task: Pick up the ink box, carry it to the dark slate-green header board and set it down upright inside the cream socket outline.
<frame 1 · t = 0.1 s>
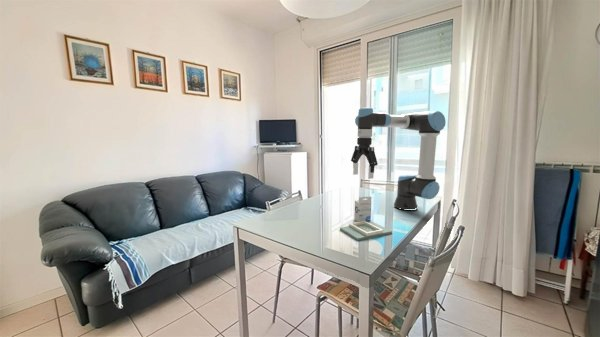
hand: (362, 176, 135), 28 cm above the table, fingers open, 13 cm apart
header board: (365, 231, 130), on the table
ink box: (362, 220, 147), on the table
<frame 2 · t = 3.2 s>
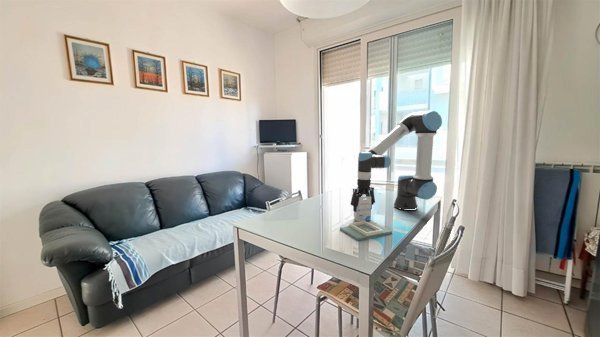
hand: (362, 215, 147), 2 cm above the table, fingers closed on ink box, 9 cm apart
ink box: (362, 220, 147), on the table, touching gripper
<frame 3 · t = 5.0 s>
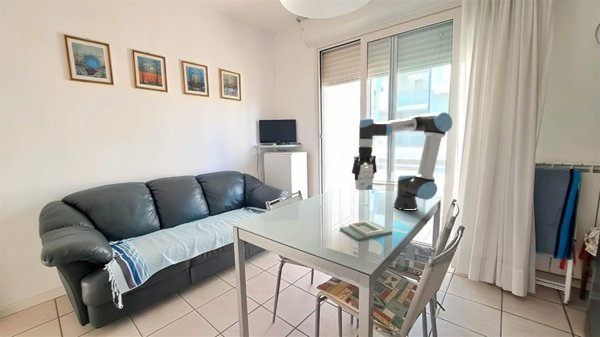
hand: (363, 184, 144), 21 cm above the table, fingers closed on ink box, 9 cm apart
ink box: (363, 189, 145), point 19 cm above the table, touching gripper
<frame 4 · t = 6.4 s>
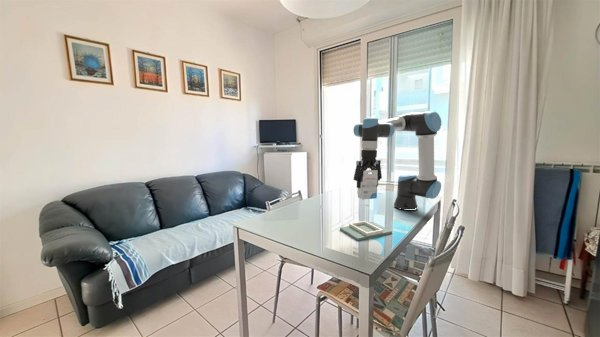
hand: (367, 193, 127), 21 cm above the table, fingers closed on ink box, 9 cm apart
ink box: (367, 198, 127), point 18 cm above the table, touching gripper
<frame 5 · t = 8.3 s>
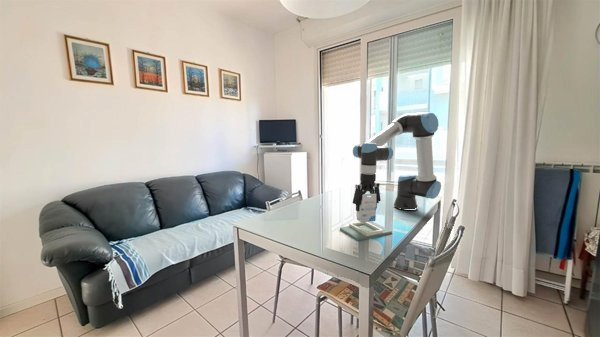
hand: (366, 215, 128), 9 cm above the table, fingers closed on ink box, 9 cm apart
ink box: (365, 220, 129), point 6 cm above the table, touching gripper
when the fingers open (6 cm above the table, at t = 9.8 s): ink box stays where it is, resting on header board.
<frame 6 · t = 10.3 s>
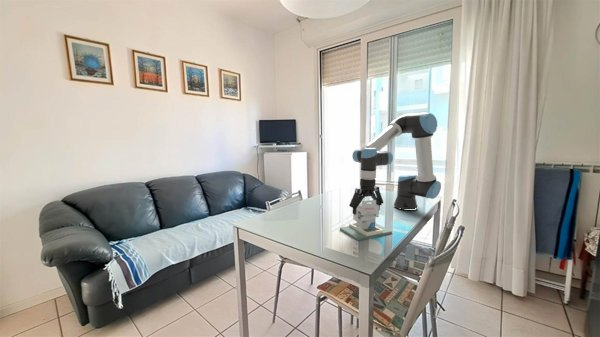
hand: (366, 218, 129), 7 cm above the table, fingers open, 13 cm apart
ink box: (365, 226, 129), point 2 cm above the table, touching header board
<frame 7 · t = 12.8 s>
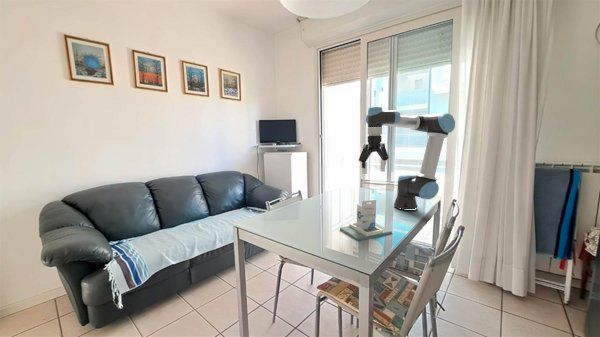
hand: (373, 172, 141), 29 cm above the table, fingers open, 13 cm apart
nothing on the table moved.
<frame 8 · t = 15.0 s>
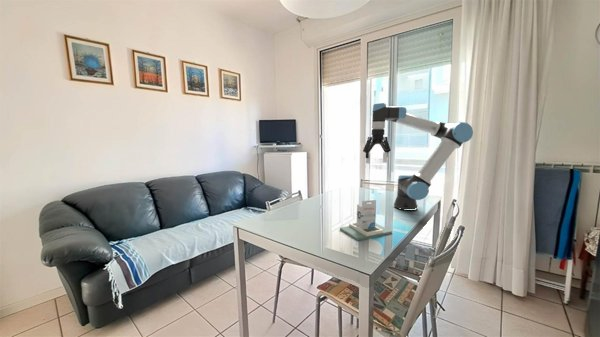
hand: (376, 163, 155), 33 cm above the table, fingers open, 13 cm apart
nothing on the table moved.
at the end: ink box 0.1 cm off-centre on the header board, point 2.5 cm above the header board's base; ink box tilted 0°; the gripper is holding nothing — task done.
